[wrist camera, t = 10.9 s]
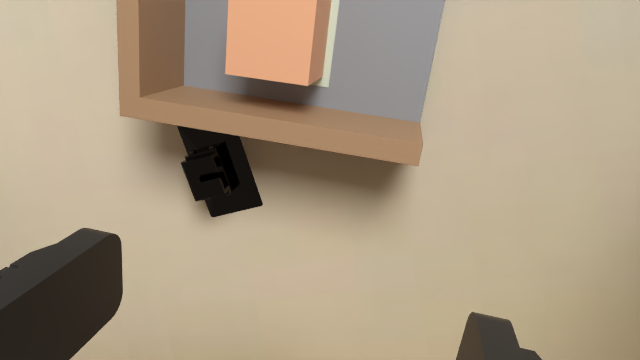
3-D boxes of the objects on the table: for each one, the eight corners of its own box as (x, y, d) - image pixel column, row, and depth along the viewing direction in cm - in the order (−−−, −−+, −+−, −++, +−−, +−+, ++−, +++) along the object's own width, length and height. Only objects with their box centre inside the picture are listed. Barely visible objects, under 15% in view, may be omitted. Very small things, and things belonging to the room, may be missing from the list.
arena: (462, -91, 32) (479, -125, 25) (415, 138, 38) (418, 166, 31) (174, -119, 35) (111, -157, 28) (172, 99, 41) (119, 115, 33)
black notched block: (276, 215, 43) (263, 236, 39) (209, 229, 45) (189, 251, 41) (234, 89, 40) (214, 97, 36) (164, 110, 42) (137, 119, 38)
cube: (331, -3, 35) (317, -8, 29) (322, 76, 37) (307, 86, 31) (256, -12, 35) (229, -18, 30) (251, 66, 37) (225, 74, 32)
